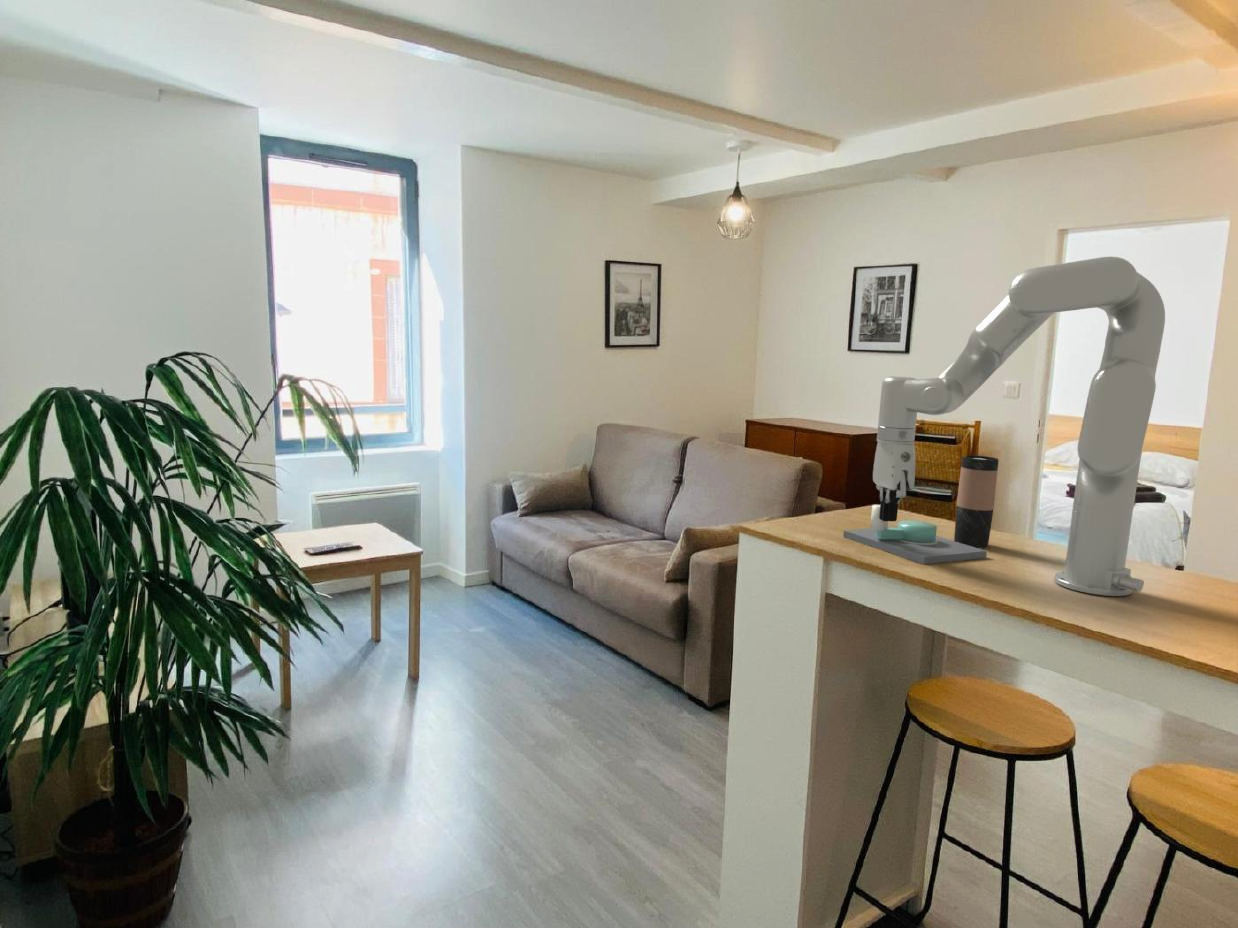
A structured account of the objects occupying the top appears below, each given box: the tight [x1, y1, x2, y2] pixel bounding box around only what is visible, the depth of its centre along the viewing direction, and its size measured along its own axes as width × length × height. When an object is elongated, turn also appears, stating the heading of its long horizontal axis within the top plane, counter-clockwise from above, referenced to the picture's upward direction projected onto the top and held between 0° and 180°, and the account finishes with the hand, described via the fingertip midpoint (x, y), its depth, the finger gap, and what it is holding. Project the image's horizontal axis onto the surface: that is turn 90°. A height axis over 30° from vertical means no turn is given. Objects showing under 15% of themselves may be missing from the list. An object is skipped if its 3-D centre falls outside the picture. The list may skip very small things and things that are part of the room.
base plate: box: [843, 525, 988, 565], centre depth 173 cm, size 24×18×2 cm
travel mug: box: [953, 454, 1000, 549], centre depth 176 cm, size 8×8×20 cm
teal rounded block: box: [869, 504, 938, 542], centre depth 172 cm, size 15×8×7 cm, turn 98°
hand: (887, 520), depth 167 cm, fingers closed
